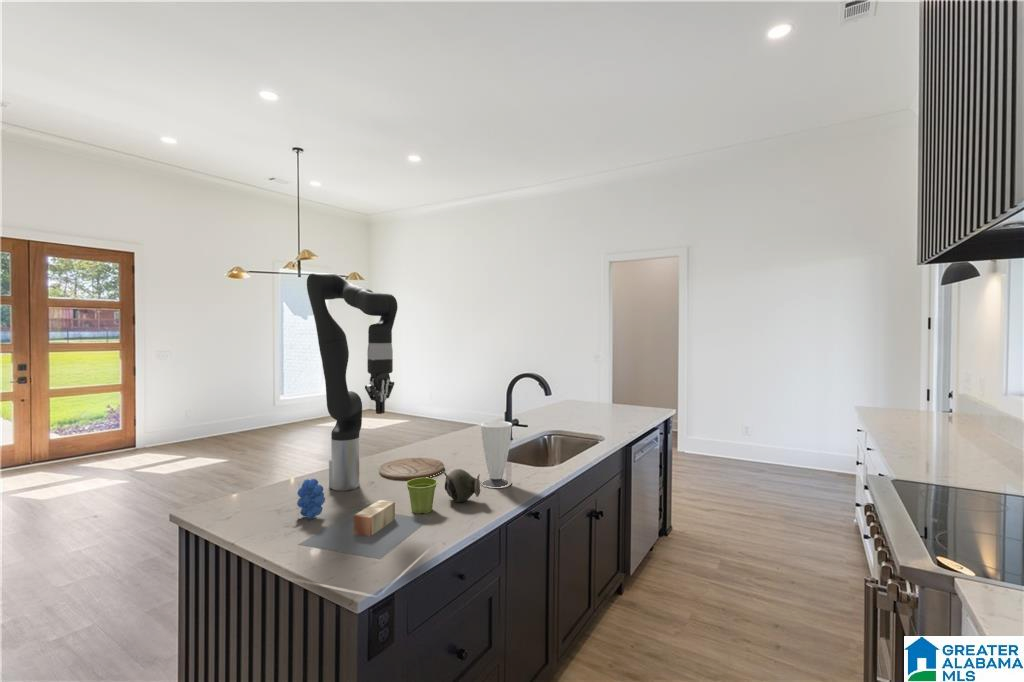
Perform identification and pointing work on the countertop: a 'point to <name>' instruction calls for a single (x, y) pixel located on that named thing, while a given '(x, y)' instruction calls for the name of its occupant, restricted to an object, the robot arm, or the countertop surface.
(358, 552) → the rubber mat
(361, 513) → the maple block
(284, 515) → the countertop surface
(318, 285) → the robot arm
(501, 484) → the cup
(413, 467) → the trivet
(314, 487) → the grapes
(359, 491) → the countertop surface
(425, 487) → the plant pot
